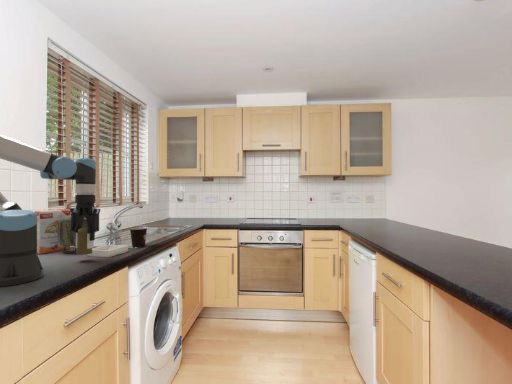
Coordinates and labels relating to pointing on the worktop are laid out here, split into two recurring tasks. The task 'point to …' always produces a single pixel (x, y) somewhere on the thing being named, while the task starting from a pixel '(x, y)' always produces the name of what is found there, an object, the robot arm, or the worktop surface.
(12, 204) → the robot arm
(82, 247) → the olive rounded piece
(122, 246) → the tray
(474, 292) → the worktop surface
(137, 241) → the coffee mug
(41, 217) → the cracker box
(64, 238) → the tabletop clock
